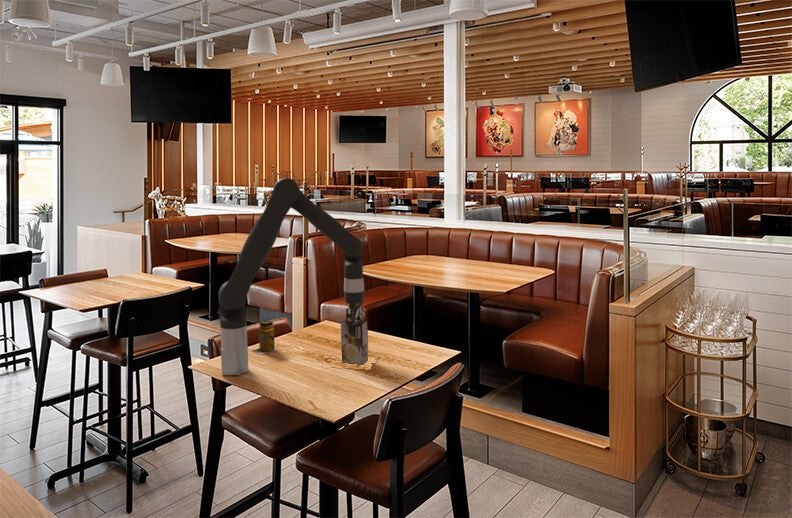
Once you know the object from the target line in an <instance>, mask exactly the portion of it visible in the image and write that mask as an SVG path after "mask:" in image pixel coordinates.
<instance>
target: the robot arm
mask: <svg viewBox="0 0 792 518" xmlns="http://www.w3.org/2000/svg"><path fill="white" fill-rule="evenodd" d="M290 209H292V210H294V211H295V212H297V213H298V214H300V215H301V216H302V217H303V218H305V219H306V220H307V221H308V222H309V223H310V224H311V226H313V227H315V229H316V230H318V231H319V232H320V233H321V234H322V235H324V236H325V237H326V238H327V239H329V240H330V241H332V242H333V243H334V244H335V245H336V246H337V247H339V249H341V251H342V252H343V261H344V267H343V272H344V273H343V274H344V275H343V277H344V280H343V281H344V282H343V294H344V296H343V298H344V299H343V300H344V303H346V304H348V307H347V308H346V309H345V319H346V324H348V325H349V334H350V335H354V334H355V320H356V319H357V320H362V316H363V315H364V312H363V311H364V310H363V303H364V302H365V282H364V267H363V261H362V255H363V254H362V253H363V250H364V245H363V242H362V240H361V239H360V238H359V237H357V236H355V235H354V234H353V233H351V232H350V231H349V230H347V228H345V227H344V226H343V224H341V223H340V222H339V221H338V220H337V219H336V218H335V217H333V216H332V215H331V214H330V213H328V212H327V211H325V210H323V208H321V207H320V206H318V205H317V204H315V203H314V202H313V201H312V200H311V199H310V198H309V197H307V196H306V194H305V193H304V192H303V191H302V190H301V188H300V187H299V184H298V183H297V182H296V181H295V180H294V179H292V178H289V177H284V178H280V179H279V180H277V181H276V182H275V184H274V186H273V188H272V192H271V195H270V198H269V200H268V202H267V204H266V207H265V208H264V210H263V212H262V214H261V215H260V216H259V218H258V219H257V220H256V222H255V223H254V226H253V227H252V229H251V230H250V232H249V233H248V236H247V238H246V240H245V242H244V244H243V246H242V249H241V250H240V254H239V257H238V261H237V264H236V267H235V268H234V271H233V272H232V275H230V278H229V279H228V281H225V282H224V283H223V284H222V285H221V286H220V288H219V290H218V308H219V309H218V310H219V324H220V325H219V326H220V327H219V329H220V345H221V348H220V360H221V361H220V363H221V364H220V365H221V375H222V376H233V375H236V377H237V375H238V376H239V374H240V375H244V374H246V373H248V372H249V370H250V369H249V350H248V349H249V347H248V345H249V344H248V327H247V324H248V323H247V321H248V320H247V309H246V300H247V299H246V298H248V297H247V296H248V294H249V292H250V289H251V286H252V284H253V282H254V279H255V278H256V276H257V274H258V273H259V270H261V268H262V266H263V265H264V263H265V261H266V260H267V257H268V256H269V254H270V252H271V250H272V248H273V246H274V244H275V242H276V240H277V237H278V235H279V233H280V229H281V228H282V224H283V222H284V220H285V218H286V216H287V214H288V213H289V211H290ZM350 320H351V321H350ZM243 373H244V374H243Z"/></svg>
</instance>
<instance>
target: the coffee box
mask: <svg viewBox="0 0 792 518" xmlns="http://www.w3.org/2000/svg"><path fill="white" fill-rule="evenodd" d="M350 321H351V320H350ZM368 323H369V322H368V320H367V319H361V320H357V319H356V320H355V334H354V335H350V334H349V325H348V324H346V318H345V319H343V320H342V321H341V322H340V342H341V345H340V346H341V354H342V363H348V364H357V365H364V364H365V363H366V362H367V361H368V356H369V334H368V333H369V328H368Z"/></svg>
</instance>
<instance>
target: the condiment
mask: <svg viewBox="0 0 792 518" xmlns="http://www.w3.org/2000/svg"><path fill="white" fill-rule="evenodd" d="M258 337H259V338H258V339H259V340H258V341H259V344H258V345H259V346H258V347H259V348H255V349H251V351H252V352H254V353H256V354H258V355H265V354H269V353H273V352H274V353H275V352H278V351H279V348H278V349H277V348H276V347H275V346H276V345H275V328H274V322H273V321H272V320H262V321H260V322H259V329H258Z"/></svg>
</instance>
